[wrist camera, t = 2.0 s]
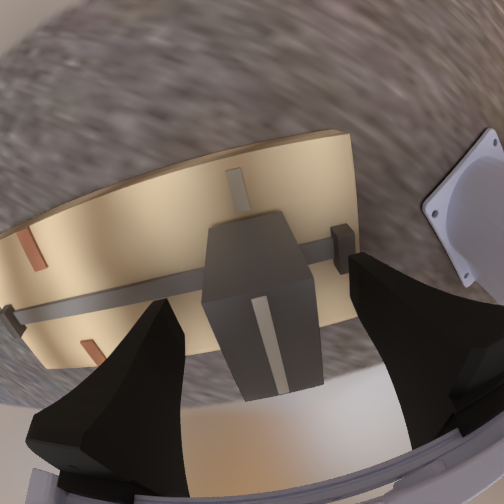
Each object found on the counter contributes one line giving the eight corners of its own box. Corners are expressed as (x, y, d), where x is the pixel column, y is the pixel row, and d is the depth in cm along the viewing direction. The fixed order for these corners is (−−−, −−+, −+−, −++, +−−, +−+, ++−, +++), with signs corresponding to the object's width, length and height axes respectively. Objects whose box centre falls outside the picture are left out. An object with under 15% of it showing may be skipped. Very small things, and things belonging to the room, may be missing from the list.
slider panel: (333, 129, 13) (359, 137, 10) (348, 295, 17) (366, 327, 15) (-12, 240, 13) (-37, 263, 11) (55, 350, 18) (42, 378, 15)
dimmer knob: (281, 211, 12) (315, 279, 7) (298, 305, 14) (324, 386, 10) (208, 228, 12) (200, 305, 7) (238, 319, 14) (245, 403, 10)
